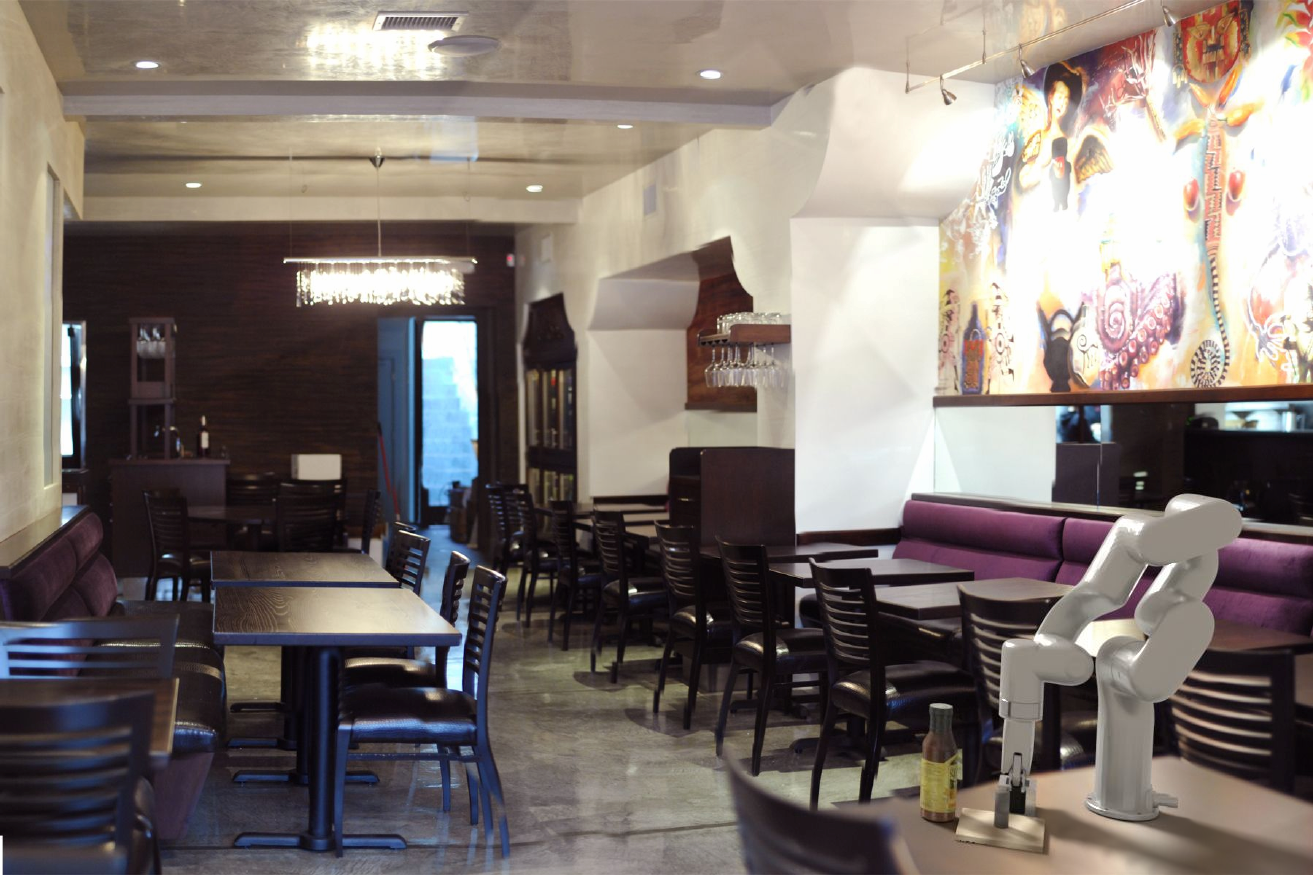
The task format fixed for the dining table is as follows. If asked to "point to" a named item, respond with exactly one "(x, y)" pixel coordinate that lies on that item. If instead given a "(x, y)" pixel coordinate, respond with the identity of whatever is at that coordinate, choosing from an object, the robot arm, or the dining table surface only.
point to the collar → (1029, 789)
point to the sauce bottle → (939, 767)
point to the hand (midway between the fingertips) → (1016, 805)
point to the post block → (1001, 827)
